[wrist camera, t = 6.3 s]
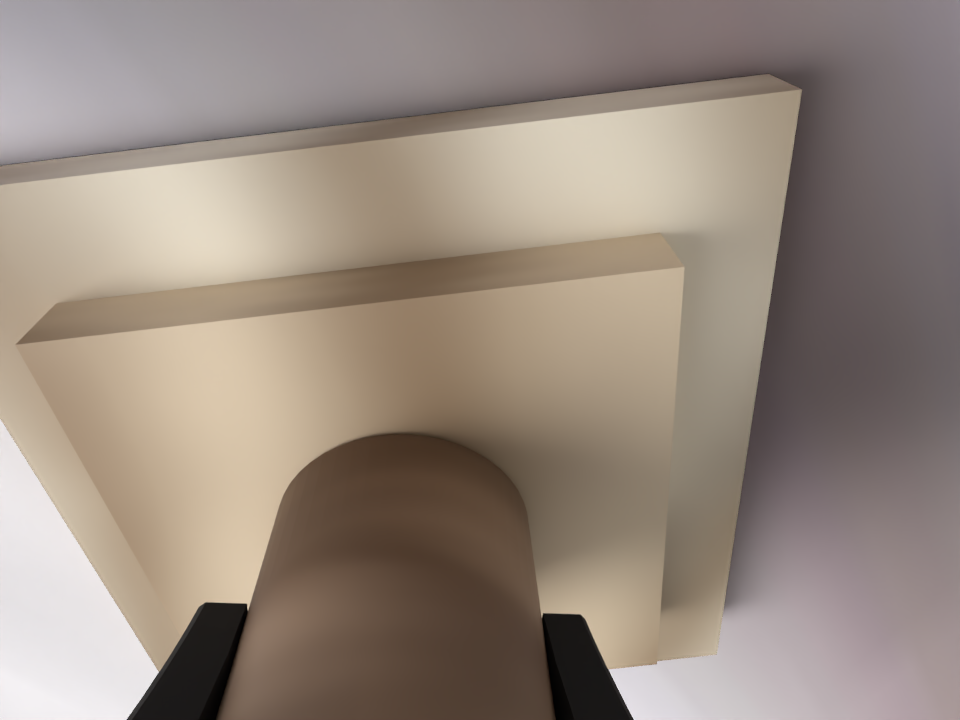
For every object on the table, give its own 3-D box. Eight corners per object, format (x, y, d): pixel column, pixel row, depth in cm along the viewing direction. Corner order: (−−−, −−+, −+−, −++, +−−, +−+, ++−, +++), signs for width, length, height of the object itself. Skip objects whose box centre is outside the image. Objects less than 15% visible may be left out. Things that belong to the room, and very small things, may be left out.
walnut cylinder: (270, 600, 13) (160, 1009, 8) (285, 416, 11) (144, 827, 6) (497, 624, 14) (526, 1016, 9) (557, 455, 12) (641, 853, 7)
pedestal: (198, 670, 19) (168, 764, 17) (-85, 175, 11) (-206, 235, 9) (701, 614, 19) (734, 703, 16) (768, 74, 11) (846, 109, 9)
